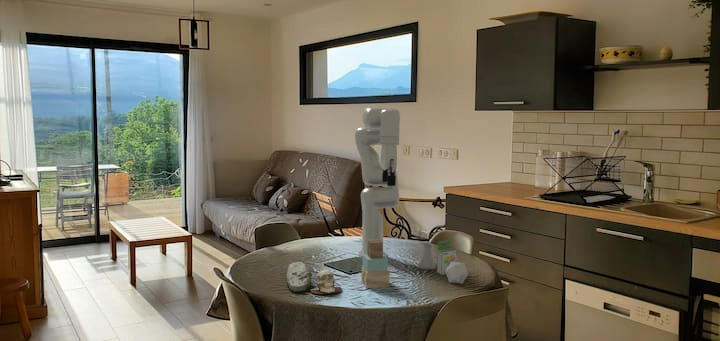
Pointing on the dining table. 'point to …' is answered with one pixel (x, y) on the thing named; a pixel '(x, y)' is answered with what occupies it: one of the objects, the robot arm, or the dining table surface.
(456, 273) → the die
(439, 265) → the ink box
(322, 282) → the skull
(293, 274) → the elongated rock
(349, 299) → the dining table surface
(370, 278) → the bottom block
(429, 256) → the flask
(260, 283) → the dining table surface
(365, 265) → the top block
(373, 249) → the walnut block
